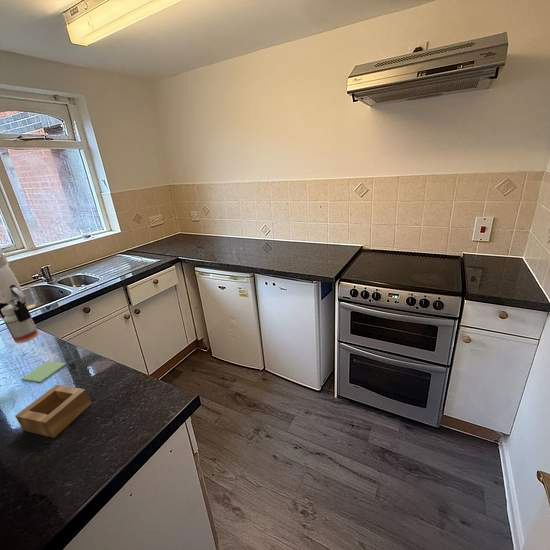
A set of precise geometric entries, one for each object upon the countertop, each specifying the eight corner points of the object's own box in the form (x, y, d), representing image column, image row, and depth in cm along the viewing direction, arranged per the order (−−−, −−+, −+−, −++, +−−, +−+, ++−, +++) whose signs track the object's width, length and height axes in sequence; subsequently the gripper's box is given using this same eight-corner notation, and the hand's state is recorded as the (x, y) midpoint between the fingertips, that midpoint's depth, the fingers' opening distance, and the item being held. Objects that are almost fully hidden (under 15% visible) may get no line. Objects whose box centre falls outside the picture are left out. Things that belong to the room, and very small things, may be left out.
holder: (23, 430, 76) (14, 415, 74) (63, 398, 85) (56, 384, 84) (53, 438, 72) (45, 422, 70) (91, 403, 82) (85, 389, 80)
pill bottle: (20, 336, 95) (4, 304, 91) (42, 330, 97) (27, 299, 93) (11, 346, 90) (-7, 313, 86) (34, 340, 91) (18, 307, 87)
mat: (21, 379, 97) (21, 378, 96) (48, 362, 105) (47, 360, 104) (40, 382, 94) (40, 381, 94) (66, 364, 102) (66, 363, 101)
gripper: (-45, 268, 84) (-15, 324, 90) (-6, 268, 78) (23, 327, 85) (-14, 259, 90) (12, 312, 97) (24, 258, 85) (49, 314, 91)
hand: (17, 318), depth 91 cm, fingers closed on pill bottle, 6 cm apart
